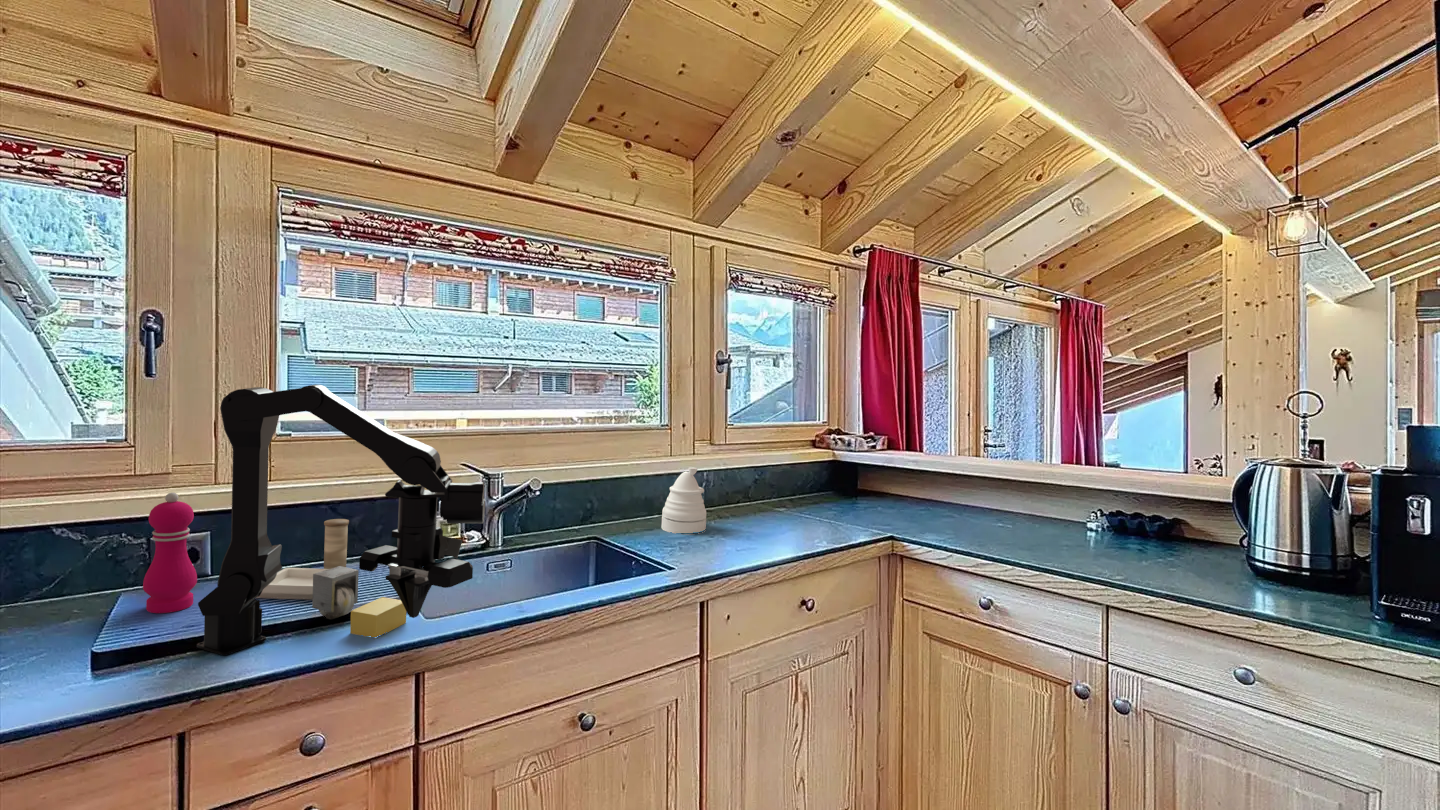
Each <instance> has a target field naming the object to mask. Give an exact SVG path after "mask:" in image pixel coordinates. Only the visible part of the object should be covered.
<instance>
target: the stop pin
mask: <svg viewBox="0 0 1440 810" xmlns="http://www.w3.org/2000/svg"><path fill="white" fill-rule="evenodd" d="M349 524H350V520H349V519H346V518H334V519H333V518H332V519H327V520H325V521H324V522H323V526H324V546H323V548H324V550H323V552H324V554H323V569H331V568H335V567H338V566H343V567H347V559H348V557H347V556H348V555H347V554H348V551H347V550H348V531H349V530H348V526H349Z"/></svg>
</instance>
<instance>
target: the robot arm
mask: <svg viewBox="0 0 1440 810" xmlns="http://www.w3.org/2000/svg"><path fill="white" fill-rule="evenodd" d="M219 407H220V414H221V420H222V425H223V431H224V433H225V435H226V437H227V440H228V441H229V443H230V445H231V448H232V472H231V474H232V476H231V477H232V480H231V483H232V484H231V489H232V490H231V525H230V528H231V532H230V533H231V534H230V535H231V536H230V543H229V545H228V548H227V549H226V552H225V554H224V557H223V560H222V562H221V566H220V570H219V575H218V578H217V584H216V585H217V587H215V588H214V589H213V590H212V591H210V592H209V593H207V594H206V596H204V597H203V598H202V599H200V600H199V601H198V603H197V605H198V608H199V610H200V613H201V615H202V616H203V617H204V621H203V622H204V626H203V627H204V629H203V632H204V635H203V641H202V642H197V643H196V648H197V649H202V650H205V651H207V652H211V653H213V654H218V655H220V656H228V655H231V654H233V653H236V652H238V651H239V652H240V651H241V650H245V649H247V648H250V647H253V646H255V645H257V644H260V643H263V642H265V641H267V637H266V636H265V635H261V634H262V626H263V623H262V622H263V609H262V608H261V607H260V606H261V600H259V599H257V598H256V597H258V596H260V595H261V593H262V591H263V589H264V588H265V587H267V586H268V585H269V584H270V583H271V582H272V581H273V580H274V579H275V577H276V575H277V572H279V571H281V570H283V566H282V564H281V553H282V549H283V547H282V546H283V545H282V544H274V545H272V543H271V541H270V538H269V536H268V492H269V491H268V490H269V452H270V451H269V447H270V443H271V441H272V439H273V437H274V434H275V431H276V429H277V426H278V422H279V418H280V416H282V415H284V416H285V415H289V414H294V413H295V414H296V413H302V412H308V413H310V414H312V415H314V416H315V417H317V418H318V419H320V420H322V421H323V422H325V423H327V424H328V425H330V426H331V427H333V428H334V429H336V430H338V431H339V432H341V433H342V434H344V435H346V436H347V437H349V438H350V439H352V440H354V441H355V442H357V443H359V444H360V445H361V446H364V447H365V448H366V449H368V450H370V451H371V452H373V453H375V455H376V456H378V457H379V458H380V459H381V461H382V462H384V464H385V465H386V467H388V469H389V470H390V471H392V472H393V473H394V474H395V475H396V476H398V478H399V479H398V480H397V481H396V482H395V483H394V485H393V486H392V487H391V488H390V489H388V490H387V491H386V492H385V494H384V495H385V497H386V498H398V513H397V514H398V516H397V518H398V520H397V528H396V529H393V530H392V531H391V538H395V539H397V541H396V542H397V544H396V545H397V546H392V545H387V544H385V545H382V546H378V547H375V548H371V549H367V550H363V553H362V554H361V555H360V556H359V567H358V570H361V571H367V572H370V573H371V572H374V571H375V570H377V569H378V568H379V567H378V566H379V564H380V565H384V566H387V567H388V568H389V574H387V575H385V580H386V581H388V582H389V583H390V585H391V586H392V588H393V589H394V591H395V593H396V595H397V596H398V598H399V600H401V601H402V603H403V605H404V607H405V609H406V614H407V615H408V617H409V618H412V619H414V618H417V617H418V616H419V615H420V612H421V610H422V607H423V605H424V603H425V600H426V598H427V595H428V593H429V591H430V589H432V586H435V587H439V588H446V589H447V588H453V587H454V586H457V585H459V584H462V583H464V582H467V581H469V580H472V579H473V575H474V574H473V572H474V568H473V565H472V564H471V562H469V561H466V560H461V559H458V557H459V554H460V552H461V551H460V550H461V547H462V543H463V539H459V538H454V537H449V536H444V530H443V527H439V526H437V520H438V519H437V517H438V516H437V514H438V499H440V505H439V516H440V518H442V519H443V521H446V523H447V524H484V522H485V513H486V498H485V483H484V481H475V482H453V479H452V478H451V477H450V475H449V474H448V473H447V472H446V470H445V469H444V468H443V467H442V465H441V463H442V460H441V456H440V453H439V451H437V449H436V448H434V447H433V446H431V445H428V444H427V443H423V442H422V441H419V440H416V439H415V438H411V437H408V436H406V435H403V434H399V433H397V432H394V431H392V430H391V429H390V428H388V427H386V426H385V425H383V424H382V423H380V422H378V421H377V420H375V419H374V418H372V417H370V416H369V415H368V414H366V413H364V412H363V411H361V410H359V409H358V408H356V407H355V406H353V405H352V404H350V403H349V402H347V401H345V400H343V399H342V398H340V397H339V396H337V395H336V394H334V393H333V392H331V390H329V388H327V386H324V385H322V384H310V385H305V386H302V387H299V388H292V389H286V390H278V391H277V390H276V391H273V390H271V389H269V388H266V387H262V386H256V387H247V388H239V389H235V390H233V391H231V392H229V393H228V394H226V396H224V397H223V398H222V400H221V403H220V406H219ZM405 483H406V484H405ZM445 556H448V557H449V556H451V557H452V558H451V559H447V560H444V561H442V562H436V560H443V559H445Z"/></svg>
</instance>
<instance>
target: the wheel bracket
mask: <svg viewBox="0 0 1440 810" xmlns="http://www.w3.org/2000/svg"><path fill="white" fill-rule="evenodd" d="M359 570H360V569H355V568H351V567H347V566H346V567H343V566H338V567H335V568H331V569H328V570H325V571H321V572H318V573H315V574H313V598H312V599H311V600H312V603H311V604H312V605H311V608H312V609H315V610H318V612H319V613H320V614H321V615H322V617H324V616H325V617H326V618H325V617H324V618H325V619H327V620H335V619H337V618H339V617H342V616H345V615H347V614H349V613H351V611H352V610H354V609H353V608H354V606H355V605H356V604H358V602H359V599H358V597H359V573H360V572H359Z"/></svg>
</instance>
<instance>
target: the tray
mask: <svg viewBox="0 0 1440 810" xmlns="http://www.w3.org/2000/svg"><path fill="white" fill-rule="evenodd" d="M325 570H328V569H324V568H311V567H310V568H309V567H302V568H301V567H285V568H282V569H281V570H279V571H278V572H277V575H276V577H275V579H274V580H273V581H272V582H271V583H270V584H269V585H268V586H267V587H265V588H264V589H263V591H262V593H261V595H260V596H258V597H256V598H255V599H275V600H276V599H279V600H281V599H282V600H283V599H284V600H312V598H313V574H315V573H318V572H321V571H325Z"/></svg>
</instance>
